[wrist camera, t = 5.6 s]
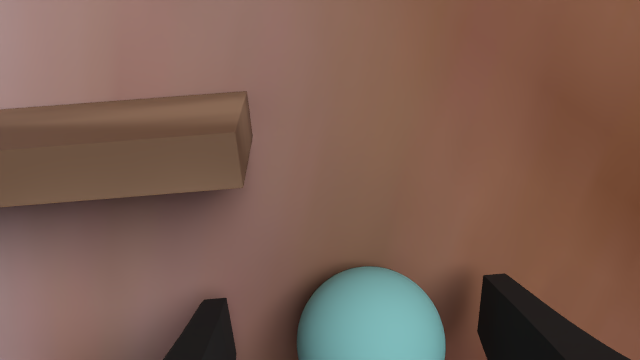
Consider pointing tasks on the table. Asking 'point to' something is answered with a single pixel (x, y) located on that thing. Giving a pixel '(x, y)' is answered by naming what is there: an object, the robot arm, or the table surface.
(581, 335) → the robot arm
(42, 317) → the table surface
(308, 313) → the ball
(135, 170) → the shallow wooden tray
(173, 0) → the table surface
